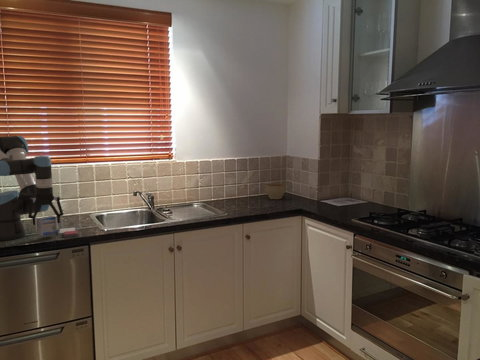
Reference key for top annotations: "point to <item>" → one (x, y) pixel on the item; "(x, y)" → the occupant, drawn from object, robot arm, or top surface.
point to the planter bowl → (275, 190)
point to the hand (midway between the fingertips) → (47, 230)
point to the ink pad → (71, 233)
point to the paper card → (66, 229)
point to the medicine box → (46, 225)
